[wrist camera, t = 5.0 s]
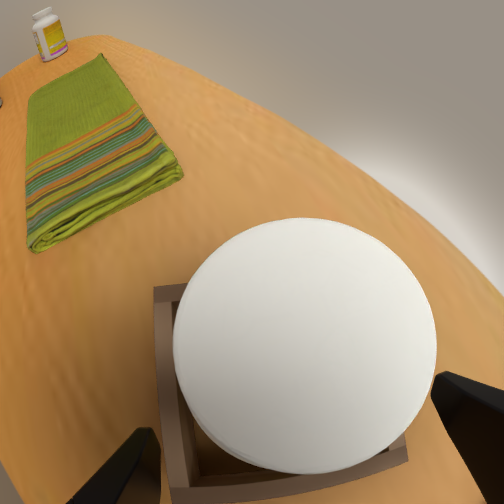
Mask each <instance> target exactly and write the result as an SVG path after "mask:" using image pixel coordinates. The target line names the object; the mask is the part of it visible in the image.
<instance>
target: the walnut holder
mask: <svg viewBox="0 0 504 504" xmlns="http://www.w3.org/2000/svg"><path fill="white" fill-rule="evenodd" d="M187 285H188V283H184V284H175V285H166V286H157V287H154V337H155V359H156V376H157V390H158V402H159V413H160V422H161V432H162V440H163V448H164V456H165V463H166V470H167V476H168V482H169V488H170V494H171V500H172V504H224V503H237V502H247V501H256V500H264V499H271V498H278V497H284V496H290V495H295V494H300V493H305V492H310V491H314V490H319V489H323V488H327V487H331V486H335V485H339V484H343V483H346V482H350V481H353V480H356V479H360V478H363V477H366V476H369V475H372V474H375V473H378V472H381V471H384V470H387V469H389V468H392V467H395V466H397V465H400V464H403V463H405V462H408V455H407V448H406V442H405V436H404V432H403V433H402V434H401V435H400V436H399V437H398V438H397V439H396V440H395V441H394V442H392V443H391V444H390V445H389V446H388V447H386V448H385V449H384V450H382V451H381V452H379V453H377V454H376V455H374V456H373V457H371V458H370V459H367V460H365V461H363V462H361V463H358V464H356V465H354V466H351V467H349V468H345V469H342V470H338V471H333V472H328V473H322V474H292V473H285V472H279V471H274V470H270V469H268V470H261V471H253V472H245V473H235V474H223V475H208V476H200V470H199V463H198V457H197V450H196V442H195V435H194V427H193V419H192V413H191V411H190V409H189V407H188V404H187V402H186V400H185V398H184V395H183V393H182V391H181V388H180V385H179V382H178V379H177V375H176V372H175V365H174V357H173V329H174V323H175V318H176V313H177V310H178V307H179V304H180V301H181V298H182V296H183V293H184V291H185V289H186V287H187Z"/></svg>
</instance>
